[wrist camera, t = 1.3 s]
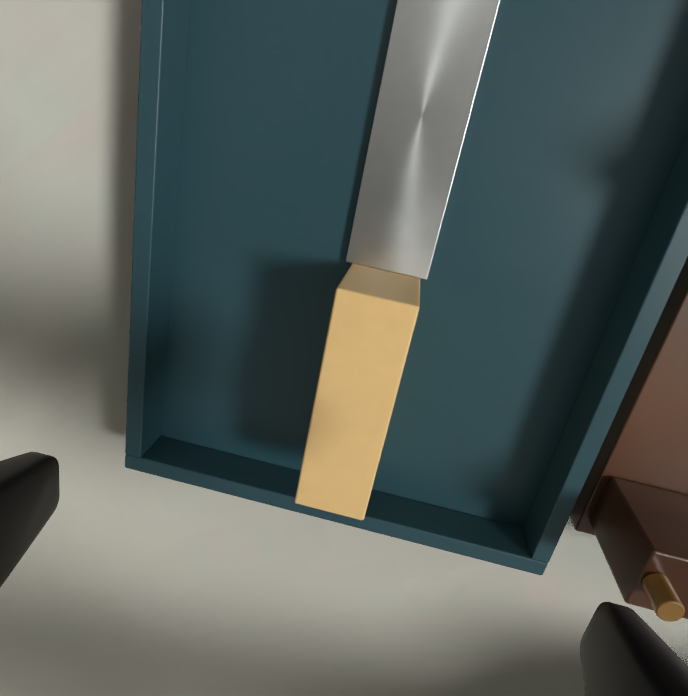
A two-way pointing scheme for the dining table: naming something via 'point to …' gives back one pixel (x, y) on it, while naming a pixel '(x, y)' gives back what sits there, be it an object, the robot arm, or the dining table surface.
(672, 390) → the knife rack
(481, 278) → the cutlery tray
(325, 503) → the knife
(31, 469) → the robot arm
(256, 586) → the dining table surface
